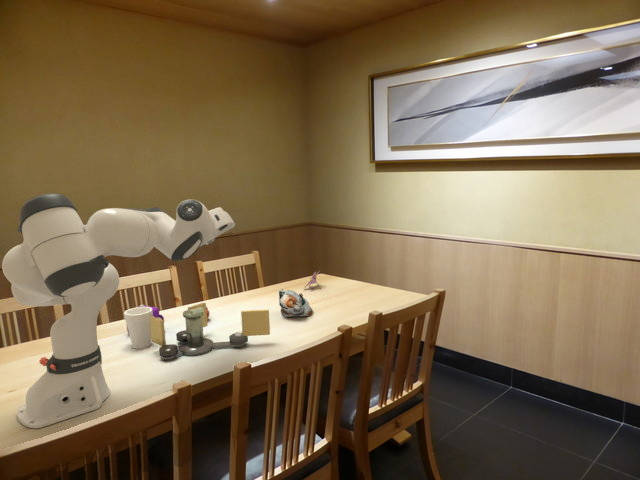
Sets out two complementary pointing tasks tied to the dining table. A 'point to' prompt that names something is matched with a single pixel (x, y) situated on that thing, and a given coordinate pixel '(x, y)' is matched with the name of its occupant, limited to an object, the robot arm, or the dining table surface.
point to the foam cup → (139, 326)
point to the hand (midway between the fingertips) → (209, 241)
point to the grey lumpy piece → (293, 304)
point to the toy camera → (155, 313)
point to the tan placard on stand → (252, 326)
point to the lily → (313, 279)
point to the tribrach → (187, 336)
